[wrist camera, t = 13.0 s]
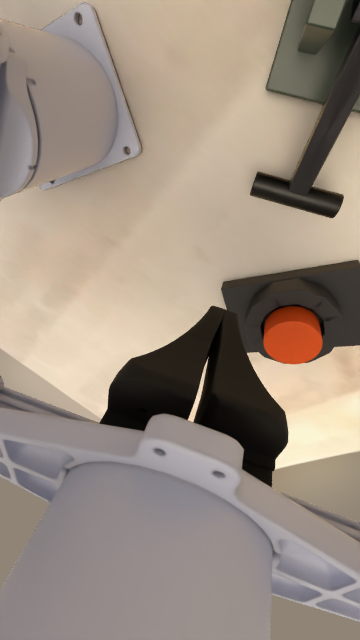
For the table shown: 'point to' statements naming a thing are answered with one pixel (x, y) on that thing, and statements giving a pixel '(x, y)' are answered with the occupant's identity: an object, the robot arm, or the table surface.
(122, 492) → the robot arm
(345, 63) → the lever
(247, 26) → the table surface
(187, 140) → the table surface
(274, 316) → the button
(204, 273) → the table surface
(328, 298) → the button box
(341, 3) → the bracket
